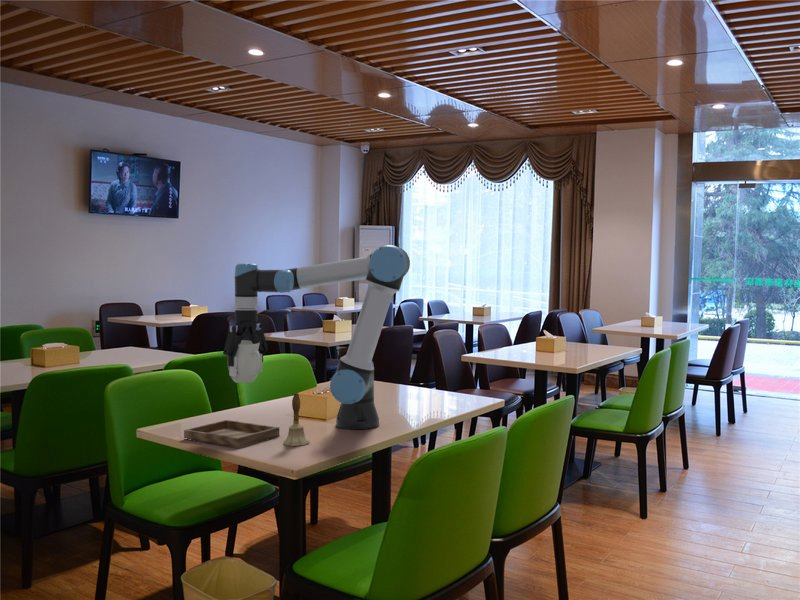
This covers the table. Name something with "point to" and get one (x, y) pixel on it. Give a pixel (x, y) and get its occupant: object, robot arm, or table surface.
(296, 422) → the hand bell
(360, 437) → the table surface
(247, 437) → the tray
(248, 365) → the pitcher
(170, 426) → the table surface
